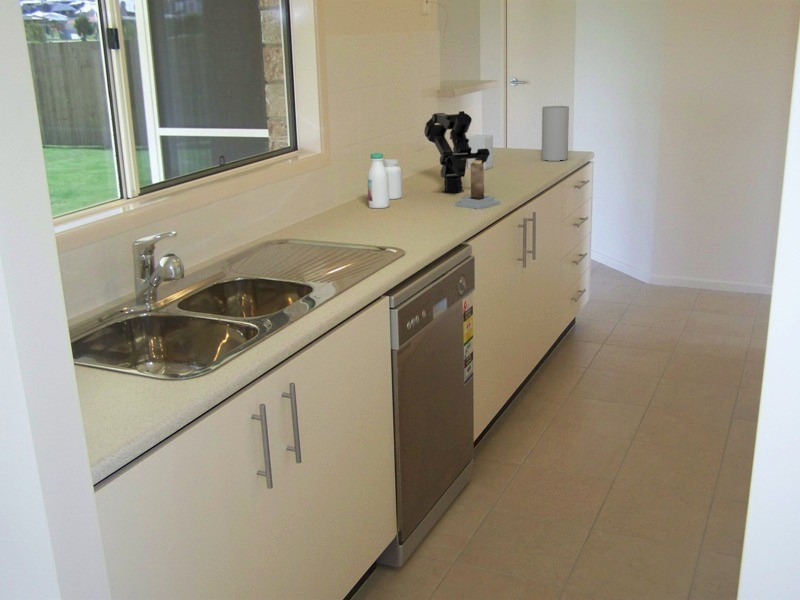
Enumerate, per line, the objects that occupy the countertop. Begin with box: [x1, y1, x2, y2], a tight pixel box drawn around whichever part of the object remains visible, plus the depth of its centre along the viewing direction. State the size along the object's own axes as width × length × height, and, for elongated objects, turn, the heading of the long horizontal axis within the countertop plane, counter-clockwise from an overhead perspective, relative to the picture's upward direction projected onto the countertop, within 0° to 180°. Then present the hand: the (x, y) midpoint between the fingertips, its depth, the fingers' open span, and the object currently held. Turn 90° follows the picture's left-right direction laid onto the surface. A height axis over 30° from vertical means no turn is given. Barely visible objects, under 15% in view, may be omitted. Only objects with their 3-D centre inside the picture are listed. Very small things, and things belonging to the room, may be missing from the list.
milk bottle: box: [367, 152, 390, 209], centre depth 324 cm, size 8×8×20 cm
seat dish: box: [454, 194, 501, 210], centre depth 324 cm, size 12×12×3 cm
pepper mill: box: [470, 160, 485, 200], centre depth 322 cm, size 5×5×15 cm
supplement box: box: [467, 134, 494, 171], centre depth 403 cm, size 9×9×15 cm
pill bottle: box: [383, 158, 403, 200], centre depth 341 cm, size 8×8×15 cm
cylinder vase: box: [541, 105, 570, 162], centre depth 418 cm, size 12×12×25 cm
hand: (470, 174), depth 329 cm, fingers open, 9 cm apart
